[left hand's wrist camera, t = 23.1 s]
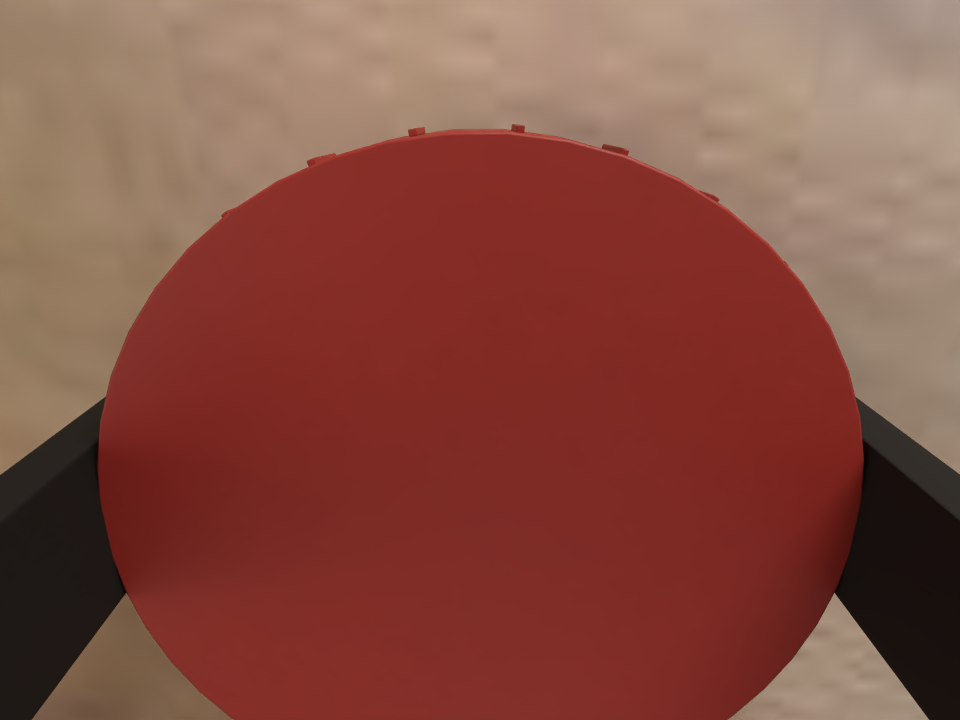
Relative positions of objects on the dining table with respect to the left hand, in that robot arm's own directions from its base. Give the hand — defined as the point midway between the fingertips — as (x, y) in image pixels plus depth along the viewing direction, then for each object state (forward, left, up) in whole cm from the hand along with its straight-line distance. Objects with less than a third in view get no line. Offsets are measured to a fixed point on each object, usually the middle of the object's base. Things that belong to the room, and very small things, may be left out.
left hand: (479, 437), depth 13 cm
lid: (0, 0, +3) cm, 3 cm away
